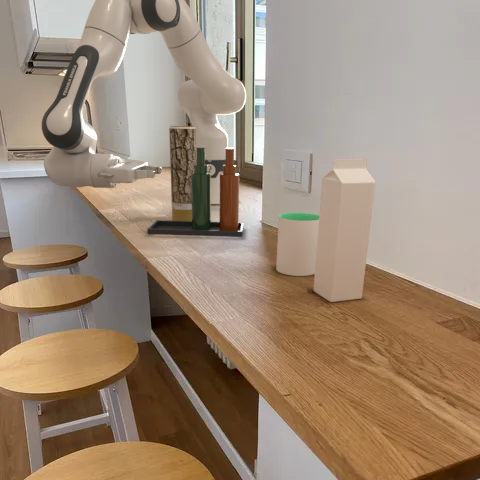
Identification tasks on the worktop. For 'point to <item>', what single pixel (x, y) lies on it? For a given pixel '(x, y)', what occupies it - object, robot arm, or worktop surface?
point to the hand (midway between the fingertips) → (158, 172)
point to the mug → (297, 243)
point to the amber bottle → (229, 195)
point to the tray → (190, 229)
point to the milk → (344, 230)
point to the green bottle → (201, 193)
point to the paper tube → (182, 170)
